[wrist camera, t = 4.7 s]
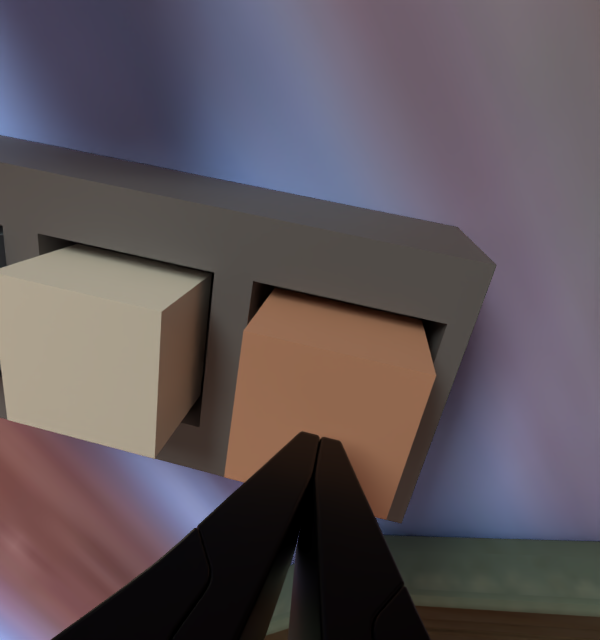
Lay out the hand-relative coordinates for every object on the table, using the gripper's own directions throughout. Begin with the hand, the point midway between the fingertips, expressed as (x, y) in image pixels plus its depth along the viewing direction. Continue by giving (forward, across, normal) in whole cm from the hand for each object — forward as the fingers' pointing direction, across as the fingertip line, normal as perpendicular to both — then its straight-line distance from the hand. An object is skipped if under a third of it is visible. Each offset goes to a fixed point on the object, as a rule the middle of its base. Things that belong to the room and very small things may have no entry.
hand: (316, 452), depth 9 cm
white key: (+4, +6, 0) cm, 7 cm away
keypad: (+8, +6, 0) cm, 10 cm away
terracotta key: (+4, 0, 0) cm, 4 cm away
